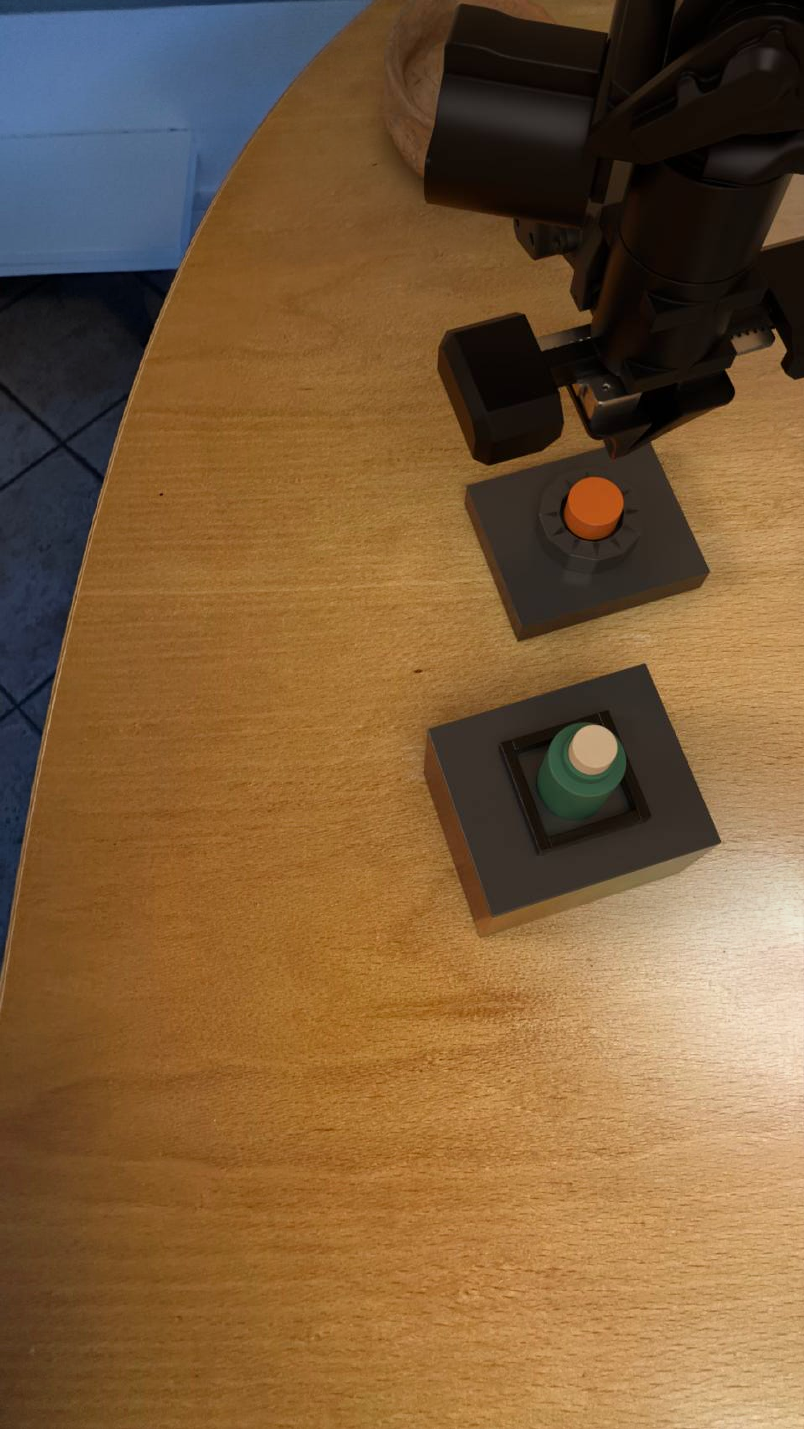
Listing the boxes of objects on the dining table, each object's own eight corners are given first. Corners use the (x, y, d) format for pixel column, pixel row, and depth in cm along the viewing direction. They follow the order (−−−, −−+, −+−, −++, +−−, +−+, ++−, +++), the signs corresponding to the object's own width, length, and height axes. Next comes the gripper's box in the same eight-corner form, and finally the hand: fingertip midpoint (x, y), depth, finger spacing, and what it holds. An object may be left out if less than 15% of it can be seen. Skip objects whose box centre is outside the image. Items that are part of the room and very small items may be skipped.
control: (639, 454, 68) (654, 417, 65) (700, 587, 65) (719, 557, 61) (464, 503, 67) (468, 469, 63) (517, 642, 64) (525, 614, 60)
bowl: (646, 72, 77) (675, -31, 67) (610, 258, 77) (634, 181, 67) (406, 33, 78) (400, -75, 68) (369, 216, 77) (357, 134, 67)
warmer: (615, 712, 63) (650, 654, 54) (681, 872, 59) (728, 838, 51) (422, 772, 61) (427, 722, 53) (479, 938, 58) (493, 914, 50)
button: (606, 486, 63) (611, 470, 62) (625, 531, 62) (632, 516, 61) (555, 500, 63) (560, 485, 61) (575, 546, 62) (580, 531, 60)
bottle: (592, 741, 54) (617, 697, 47) (619, 807, 52) (648, 771, 46) (525, 762, 53) (542, 720, 47) (550, 829, 52) (571, 795, 46)
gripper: (819, 29, 45) (715, 289, 60) (400, 131, 43) (400, 374, 58) (942, 228, 41) (799, 452, 56) (492, 348, 39) (466, 547, 54)
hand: (614, 450), depth 56 cm, fingers closed
